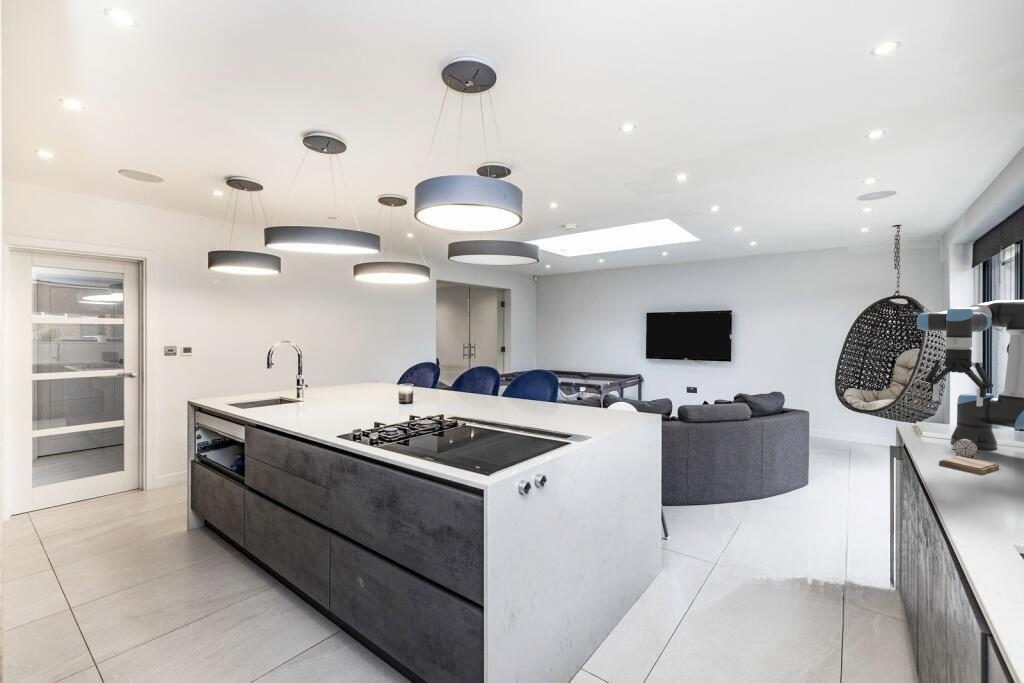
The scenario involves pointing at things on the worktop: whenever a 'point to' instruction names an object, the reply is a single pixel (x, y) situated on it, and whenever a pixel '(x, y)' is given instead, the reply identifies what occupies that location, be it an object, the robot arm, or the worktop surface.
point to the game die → (965, 447)
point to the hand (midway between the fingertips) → (957, 403)
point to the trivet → (969, 464)
